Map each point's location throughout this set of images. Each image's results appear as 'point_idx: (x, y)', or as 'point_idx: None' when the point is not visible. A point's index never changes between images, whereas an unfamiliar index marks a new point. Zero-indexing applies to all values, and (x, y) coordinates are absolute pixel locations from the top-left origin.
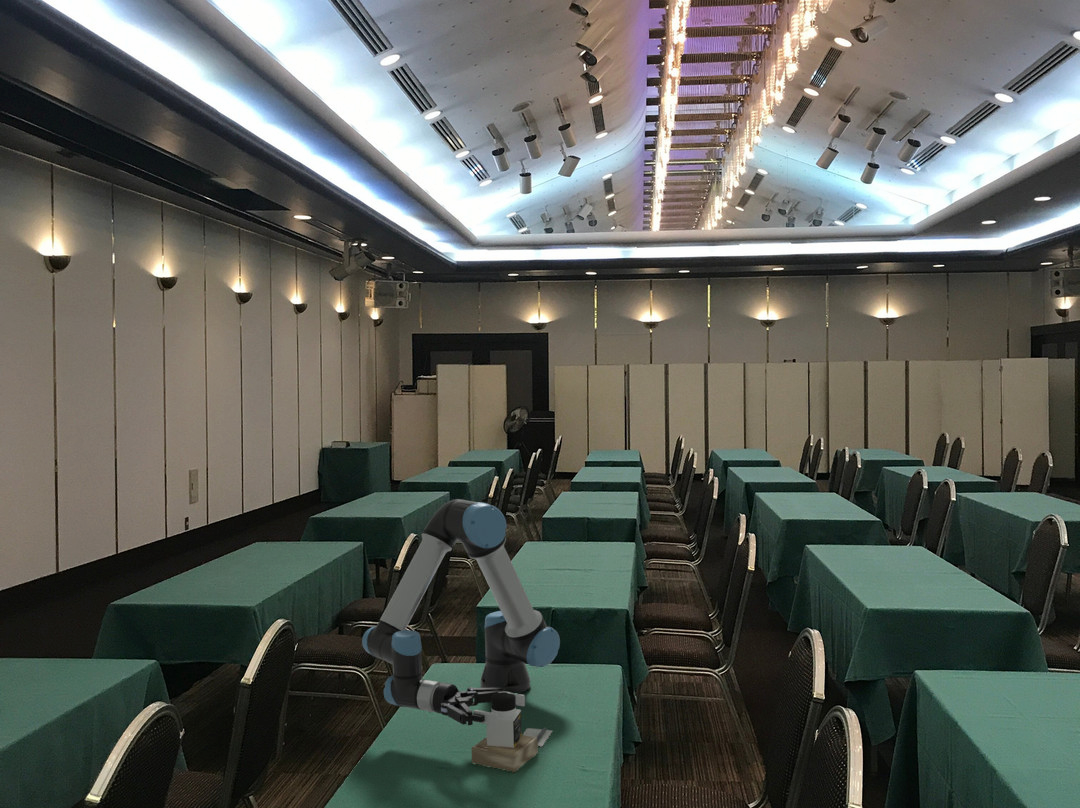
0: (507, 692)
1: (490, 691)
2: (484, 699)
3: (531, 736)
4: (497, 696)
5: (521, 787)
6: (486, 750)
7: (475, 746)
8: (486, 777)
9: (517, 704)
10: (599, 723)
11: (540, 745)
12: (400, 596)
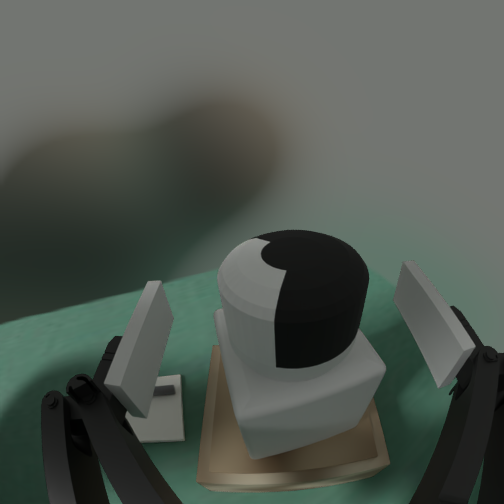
0: (255, 250)
1: (105, 460)
2: (174, 500)
3: (129, 415)
4: (342, 260)
5: (384, 318)
6: (375, 413)
7: (375, 460)
8: (406, 393)
9: (166, 337)
10: (61, 321)
11: (179, 378)
12: None
